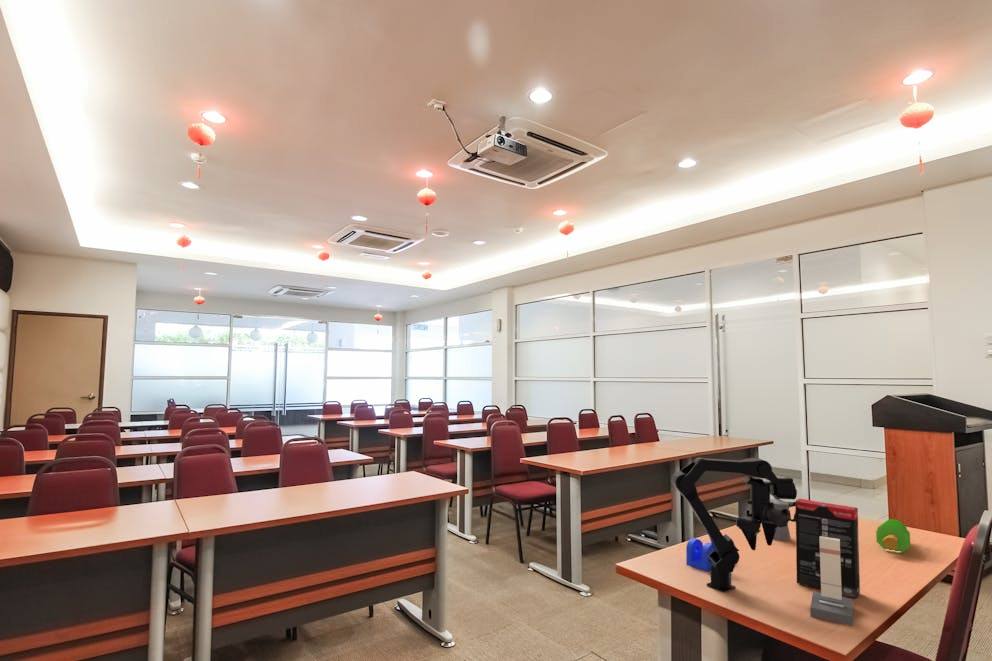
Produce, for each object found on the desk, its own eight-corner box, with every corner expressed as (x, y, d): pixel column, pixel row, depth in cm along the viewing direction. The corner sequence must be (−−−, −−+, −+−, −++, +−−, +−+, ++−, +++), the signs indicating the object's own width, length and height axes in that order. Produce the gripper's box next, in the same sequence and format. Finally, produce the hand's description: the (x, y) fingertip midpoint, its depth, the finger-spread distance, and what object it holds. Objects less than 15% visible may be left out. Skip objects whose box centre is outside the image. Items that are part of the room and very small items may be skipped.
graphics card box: (861, 593, 168) (858, 505, 170) (858, 600, 163) (854, 509, 165) (801, 579, 179) (798, 496, 181) (796, 585, 174) (793, 500, 176)
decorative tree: (880, 522, 207) (886, 506, 230) (868, 548, 209) (875, 529, 232) (915, 539, 200) (917, 520, 223) (902, 565, 202) (906, 544, 225)
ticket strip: (821, 595, 155) (819, 537, 156) (821, 593, 156) (819, 535, 158) (841, 600, 152) (839, 540, 153) (841, 597, 154) (839, 539, 155)
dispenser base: (810, 616, 151) (810, 604, 151) (813, 599, 162) (813, 588, 163) (852, 626, 145) (852, 613, 145) (852, 608, 157) (852, 596, 157)
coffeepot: (762, 539, 224) (761, 495, 225) (759, 533, 232) (758, 491, 234) (804, 543, 218) (802, 499, 220) (799, 537, 227) (798, 494, 229)
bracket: (706, 572, 184) (706, 545, 185) (686, 565, 191) (686, 539, 192) (736, 563, 194) (736, 538, 195) (716, 556, 201) (716, 532, 202)
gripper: (768, 507, 160) (770, 560, 159) (800, 500, 170) (802, 550, 169) (734, 499, 170) (735, 549, 168) (766, 493, 180) (768, 540, 178)
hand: (761, 547), depth 171 cm, fingers open, 9 cm apart
